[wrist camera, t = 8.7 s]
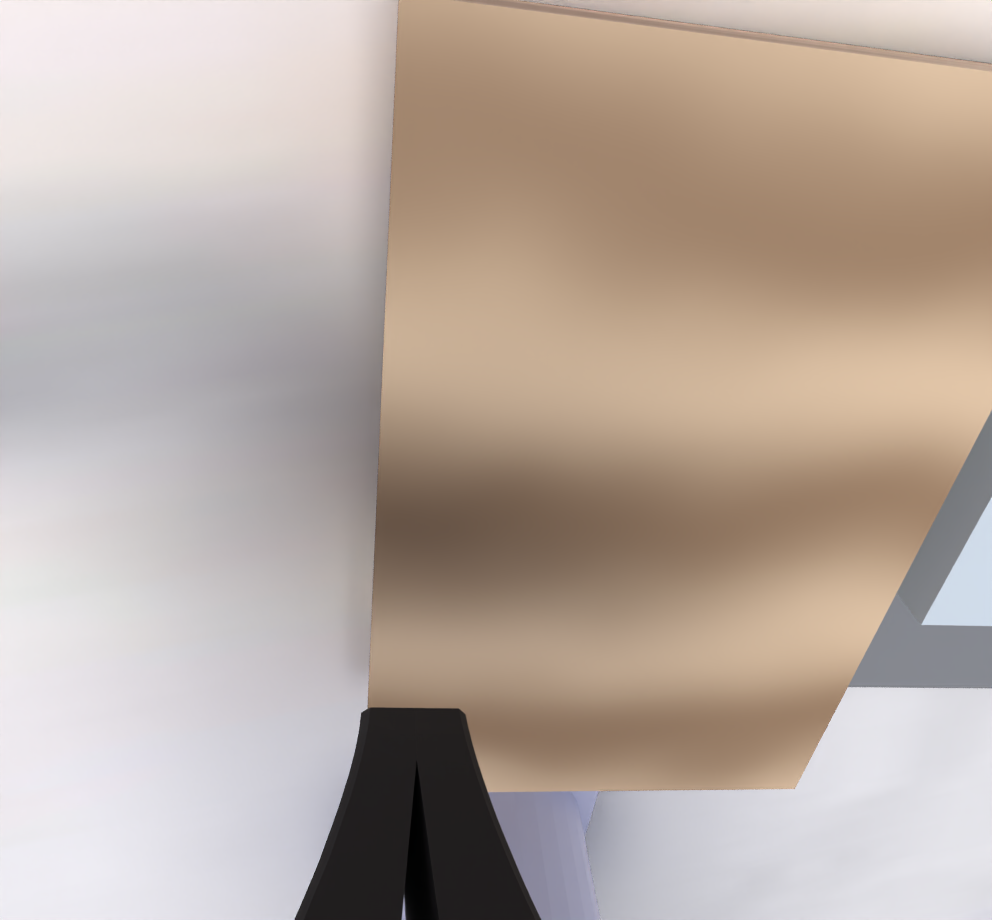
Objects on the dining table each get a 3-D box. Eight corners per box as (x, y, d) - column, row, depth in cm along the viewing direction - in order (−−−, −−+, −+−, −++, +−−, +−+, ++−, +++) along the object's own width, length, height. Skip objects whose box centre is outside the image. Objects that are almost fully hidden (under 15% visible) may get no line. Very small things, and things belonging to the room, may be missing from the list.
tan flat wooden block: (743, 678, 25) (794, 788, 22) (370, 675, 24) (363, 793, 20) (997, 64, 16) (1156, 93, 12) (401, -16, 14) (399, -7, 11)
